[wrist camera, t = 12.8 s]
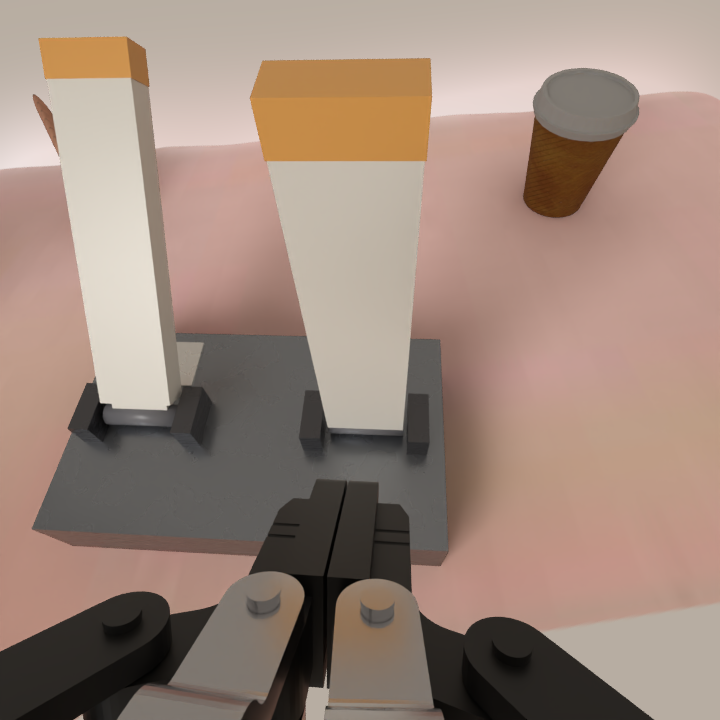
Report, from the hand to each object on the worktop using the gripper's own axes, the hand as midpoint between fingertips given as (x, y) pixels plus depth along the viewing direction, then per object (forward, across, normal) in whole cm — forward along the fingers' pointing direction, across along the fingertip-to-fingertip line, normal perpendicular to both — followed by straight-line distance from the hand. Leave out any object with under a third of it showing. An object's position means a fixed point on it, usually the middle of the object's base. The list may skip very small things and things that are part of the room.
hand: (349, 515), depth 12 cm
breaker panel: (+25, -9, -10) cm, 29 cm away
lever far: (+21, -17, -6) cm, 28 cm away
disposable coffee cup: (+48, +18, +12) cm, 53 cm away
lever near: (+21, -1, -6) cm, 22 cm away
